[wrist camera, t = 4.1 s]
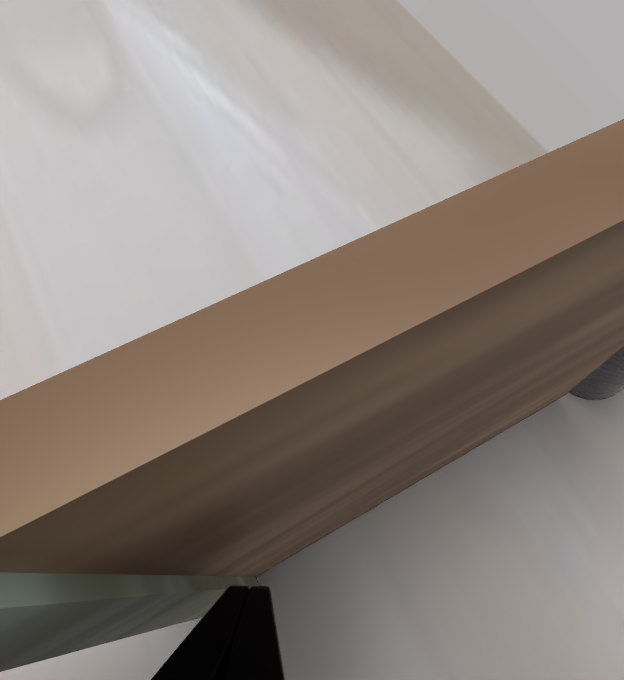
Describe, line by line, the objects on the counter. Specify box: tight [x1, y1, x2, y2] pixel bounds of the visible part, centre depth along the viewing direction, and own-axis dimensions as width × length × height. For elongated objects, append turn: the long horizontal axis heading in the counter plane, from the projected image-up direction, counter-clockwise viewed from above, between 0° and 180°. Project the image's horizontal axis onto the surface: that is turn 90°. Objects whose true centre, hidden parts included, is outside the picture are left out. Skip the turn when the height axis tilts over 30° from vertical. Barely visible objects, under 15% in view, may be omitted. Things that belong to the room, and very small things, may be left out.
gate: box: [0, 119, 624, 672], centre depth 10 cm, size 2×16×14 cm, turn 118°
